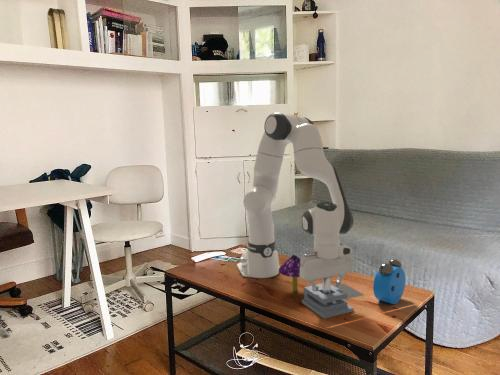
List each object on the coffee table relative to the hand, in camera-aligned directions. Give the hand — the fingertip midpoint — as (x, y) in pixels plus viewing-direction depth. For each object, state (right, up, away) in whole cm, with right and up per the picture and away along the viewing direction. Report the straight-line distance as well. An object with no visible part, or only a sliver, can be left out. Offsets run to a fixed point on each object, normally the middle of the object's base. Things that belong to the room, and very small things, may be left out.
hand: (326, 288), depth 140 cm
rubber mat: (+8, -5, +13) cm, 16 cm away
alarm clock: (+23, -6, +4) cm, 24 cm away
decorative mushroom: (-9, -5, +15) cm, 19 cm away
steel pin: (0, -6, +1) cm, 6 cm away
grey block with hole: (0, -7, +1) cm, 7 cm away
